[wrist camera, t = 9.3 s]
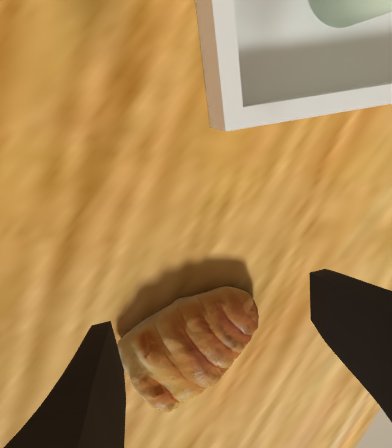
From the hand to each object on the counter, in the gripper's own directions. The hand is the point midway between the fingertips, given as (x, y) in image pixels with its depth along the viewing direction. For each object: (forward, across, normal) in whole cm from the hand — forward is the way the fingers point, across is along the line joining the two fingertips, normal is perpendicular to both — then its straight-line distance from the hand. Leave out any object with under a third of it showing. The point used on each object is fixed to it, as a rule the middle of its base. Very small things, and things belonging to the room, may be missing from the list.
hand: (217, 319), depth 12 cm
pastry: (+10, +1, +8) cm, 13 cm away
